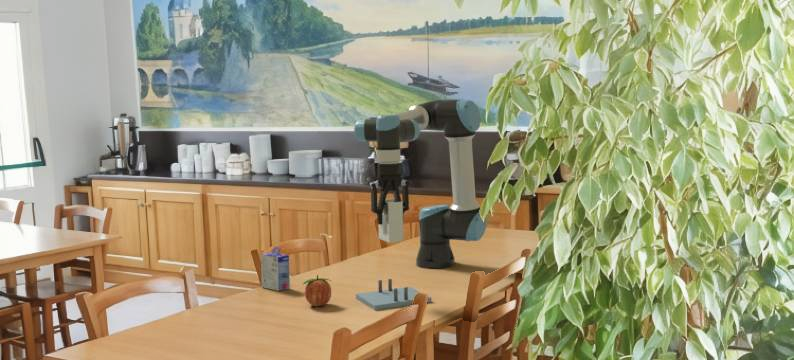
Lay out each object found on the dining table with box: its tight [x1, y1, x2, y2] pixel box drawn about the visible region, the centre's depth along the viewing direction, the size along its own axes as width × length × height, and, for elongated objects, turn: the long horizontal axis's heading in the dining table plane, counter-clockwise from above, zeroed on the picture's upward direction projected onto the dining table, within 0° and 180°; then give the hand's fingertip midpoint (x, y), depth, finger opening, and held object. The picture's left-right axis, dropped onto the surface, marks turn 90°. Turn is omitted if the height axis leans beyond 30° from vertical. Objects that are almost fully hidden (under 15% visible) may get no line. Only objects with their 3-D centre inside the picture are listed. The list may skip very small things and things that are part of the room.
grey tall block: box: [377, 198, 405, 244], centre depth 275 cm, size 5×9×13 cm, turn 23°
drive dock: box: [355, 278, 432, 311], centre depth 278 cm, size 20×17×6 cm
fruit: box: [302, 274, 332, 307], centre depth 274 cm, size 9×10×10 cm
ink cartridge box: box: [260, 246, 291, 292], centre depth 299 cm, size 10×6×14 cm, turn 48°
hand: (390, 233), depth 276 cm, fingers closed on grey tall block, 5 cm apart
